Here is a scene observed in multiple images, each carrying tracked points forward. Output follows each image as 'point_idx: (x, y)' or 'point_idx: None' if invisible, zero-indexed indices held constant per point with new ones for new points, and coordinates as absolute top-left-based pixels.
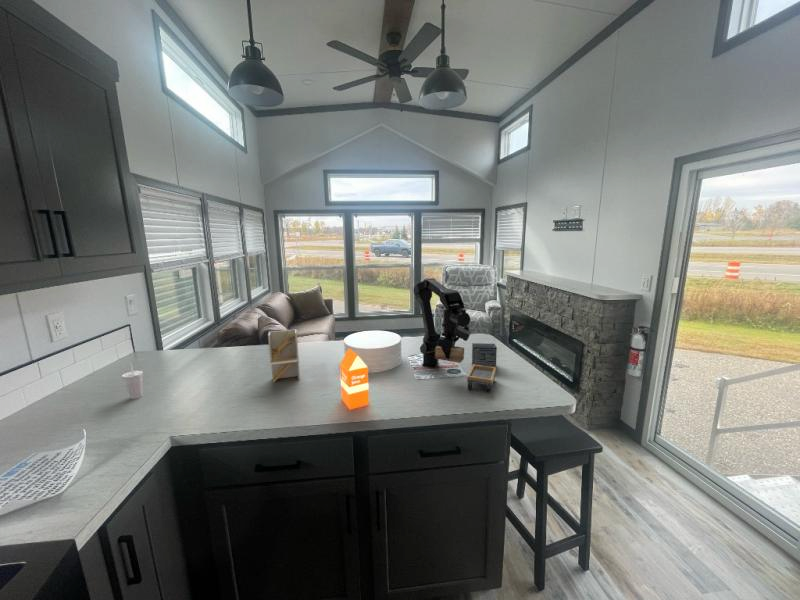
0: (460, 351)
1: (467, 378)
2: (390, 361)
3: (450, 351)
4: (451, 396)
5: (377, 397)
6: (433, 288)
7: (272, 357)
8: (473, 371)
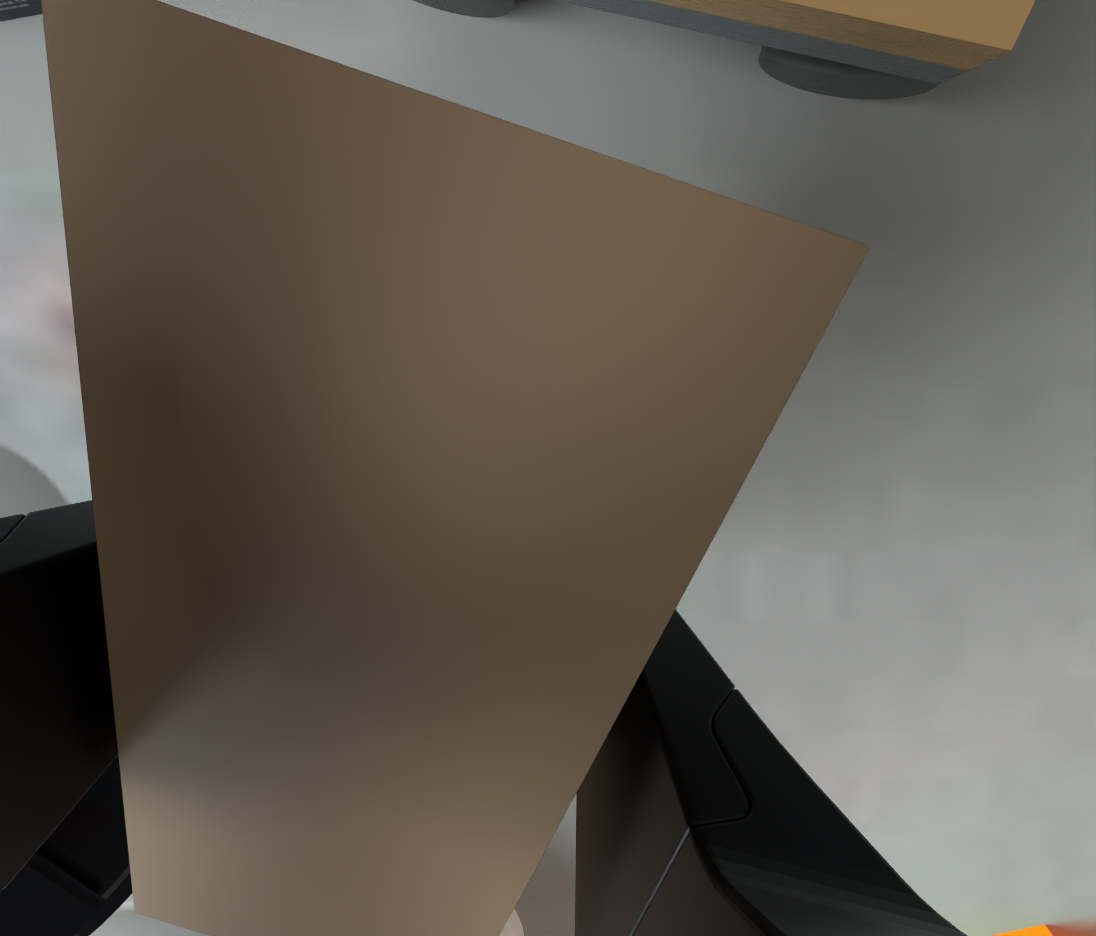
0: (867, 249)
1: (982, 61)
2: None
3: (690, 690)
4: (1043, 344)
5: (942, 890)
6: None
7: None
8: None
